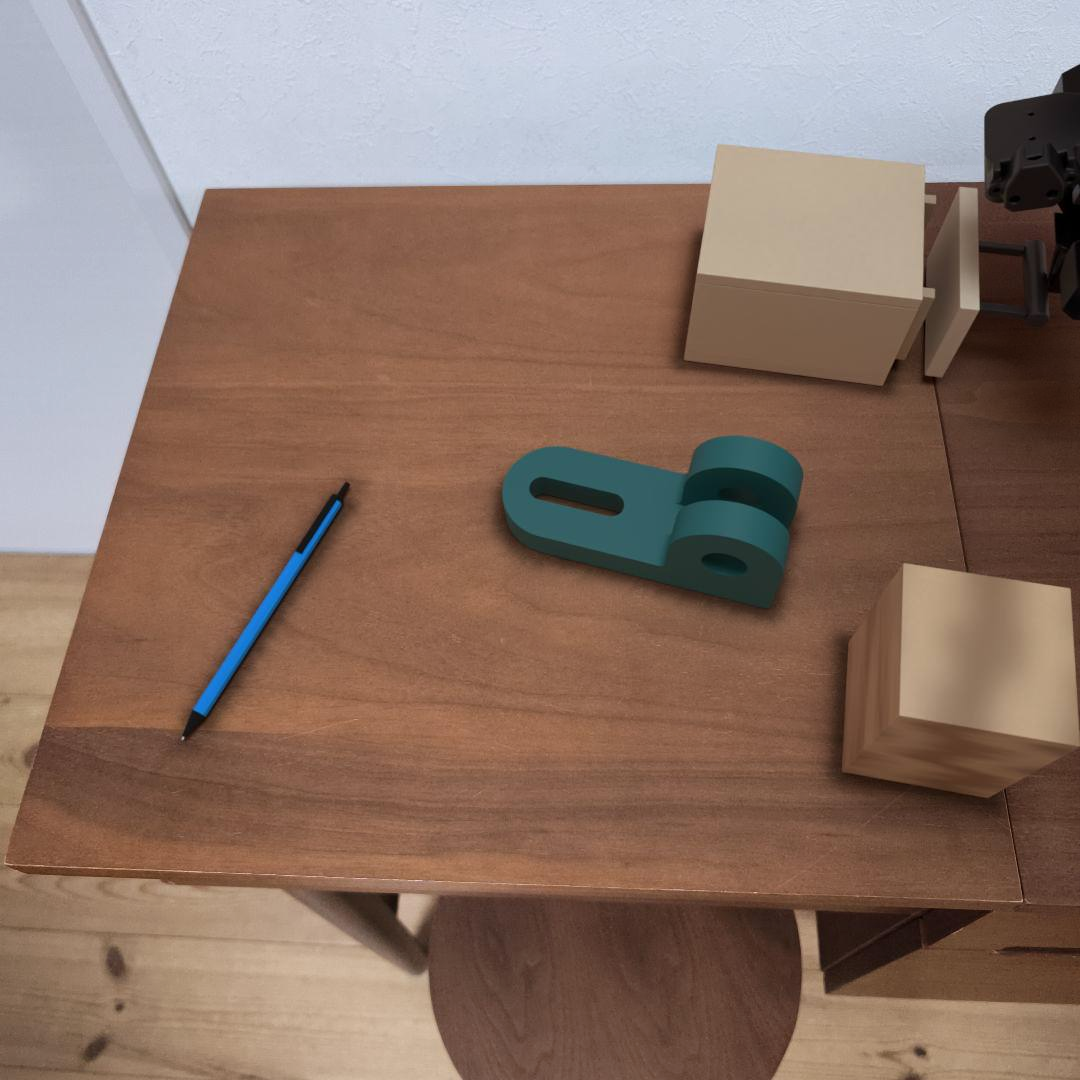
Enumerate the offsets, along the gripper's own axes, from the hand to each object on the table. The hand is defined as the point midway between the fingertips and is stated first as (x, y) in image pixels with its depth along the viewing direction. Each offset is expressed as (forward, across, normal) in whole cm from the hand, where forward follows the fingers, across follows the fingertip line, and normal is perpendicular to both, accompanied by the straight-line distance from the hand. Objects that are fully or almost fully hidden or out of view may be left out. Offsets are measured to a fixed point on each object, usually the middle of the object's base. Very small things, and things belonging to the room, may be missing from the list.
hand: (1054, 289), depth 62 cm
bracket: (+5, +20, -24) cm, 32 cm away
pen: (+5, +30, -46) cm, 55 cm away
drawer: (+4, 0, -10) cm, 10 cm away
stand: (+5, +29, -7) cm, 31 cm away
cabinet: (+5, 0, -16) cm, 17 cm away
